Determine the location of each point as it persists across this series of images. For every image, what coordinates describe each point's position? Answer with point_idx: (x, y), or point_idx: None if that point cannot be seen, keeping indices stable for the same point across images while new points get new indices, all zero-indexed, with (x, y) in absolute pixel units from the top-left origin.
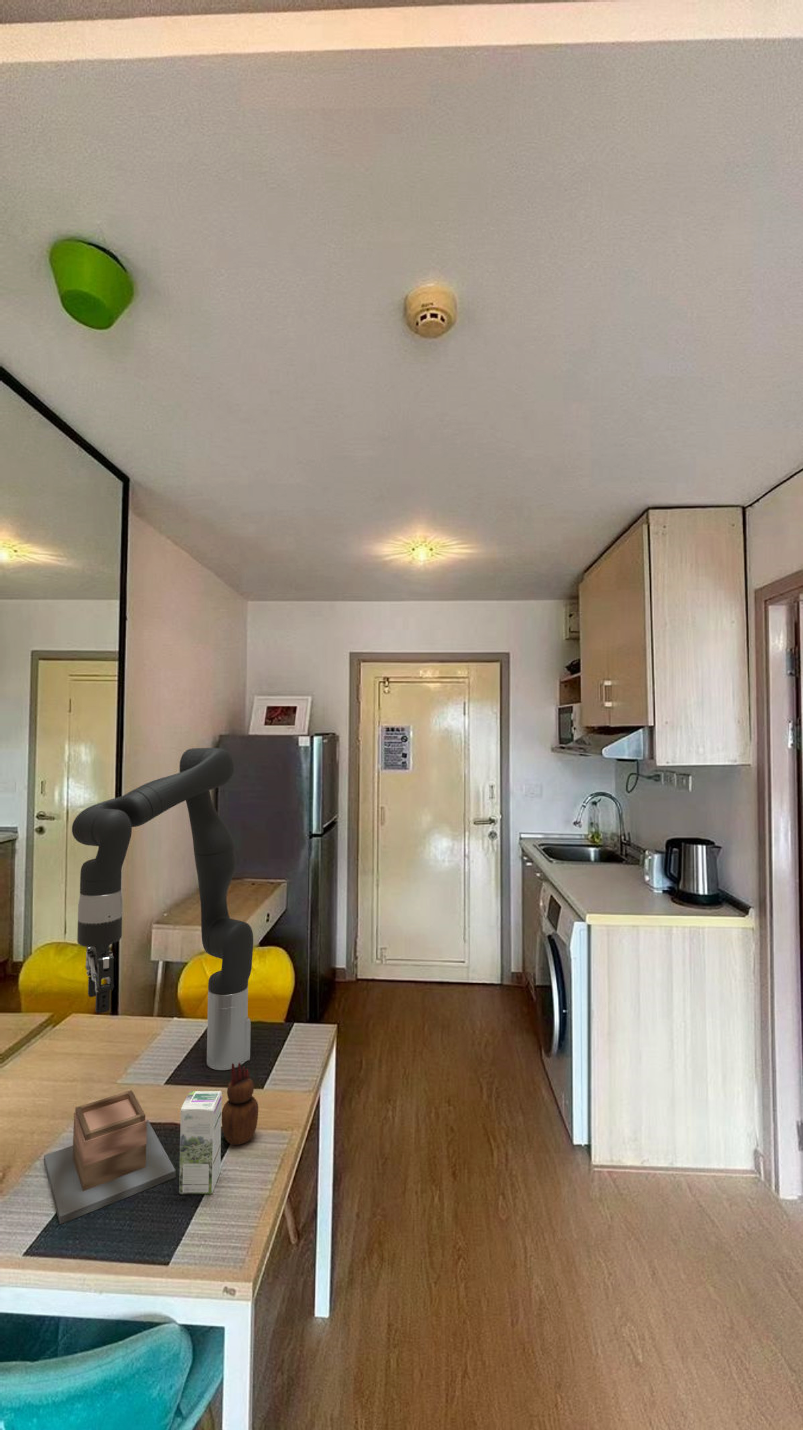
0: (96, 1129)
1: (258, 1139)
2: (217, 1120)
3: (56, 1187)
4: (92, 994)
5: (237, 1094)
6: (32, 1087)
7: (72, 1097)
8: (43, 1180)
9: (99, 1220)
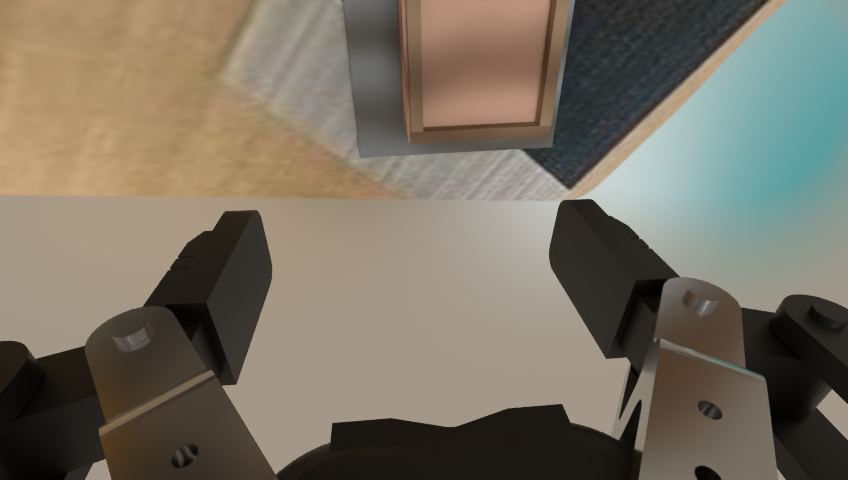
0: (544, 111)
1: None
2: None
3: (474, 146)
4: (264, 263)
5: None
6: (23, 156)
7: (102, 73)
8: (415, 156)
9: (583, 84)
